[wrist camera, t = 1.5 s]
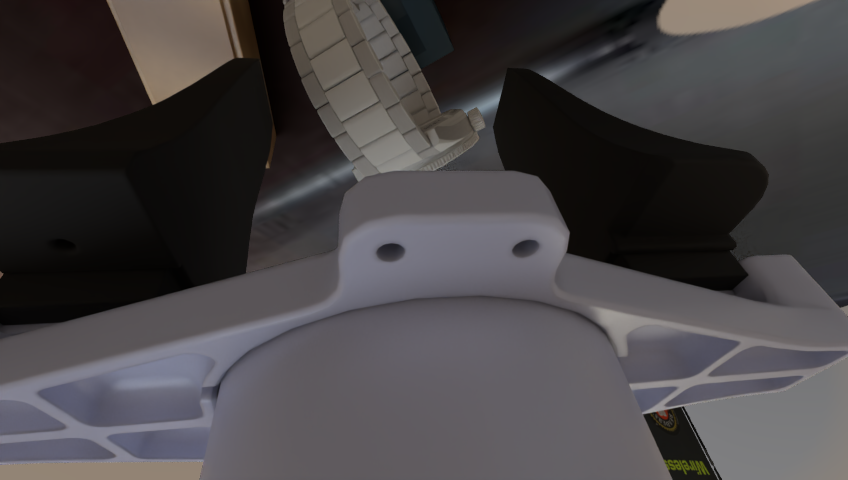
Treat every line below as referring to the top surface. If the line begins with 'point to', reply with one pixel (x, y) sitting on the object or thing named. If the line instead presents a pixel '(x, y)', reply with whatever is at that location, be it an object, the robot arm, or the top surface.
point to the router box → (680, 445)
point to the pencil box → (185, 41)
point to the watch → (378, 81)
